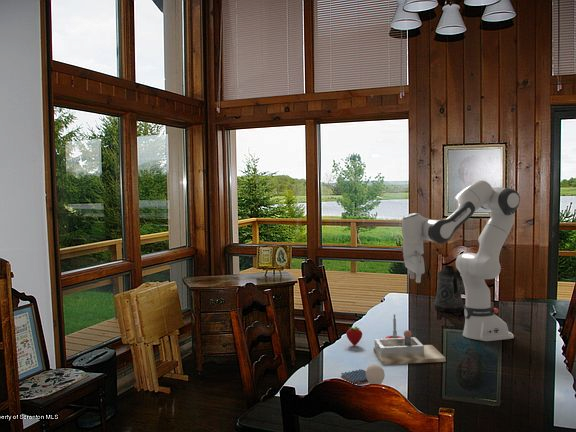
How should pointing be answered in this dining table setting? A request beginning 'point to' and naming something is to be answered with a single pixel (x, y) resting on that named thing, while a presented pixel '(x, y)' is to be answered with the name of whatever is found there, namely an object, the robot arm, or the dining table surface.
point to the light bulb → (375, 374)
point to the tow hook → (394, 330)
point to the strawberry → (354, 335)
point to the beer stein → (449, 290)
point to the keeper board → (429, 356)
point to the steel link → (398, 347)
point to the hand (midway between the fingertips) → (415, 280)
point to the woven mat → (355, 376)
